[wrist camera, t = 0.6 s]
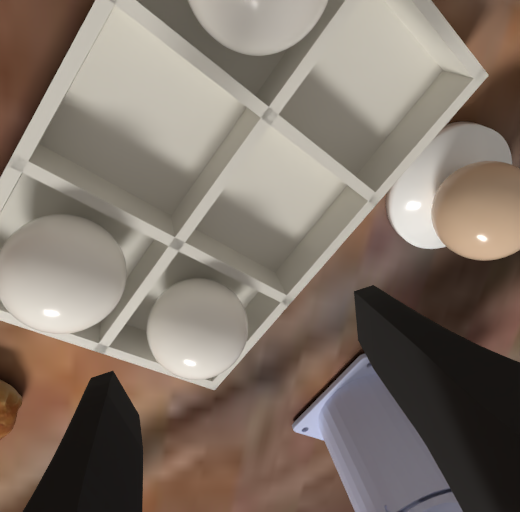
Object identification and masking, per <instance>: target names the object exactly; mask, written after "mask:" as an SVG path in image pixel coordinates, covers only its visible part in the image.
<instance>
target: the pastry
mask: <svg viewBox="0 0 520 512" xmlns="http://www.w3.org/2000/svg"><path fill="white" fill-rule="evenodd" d="M21 405H22V397H21V396H20V395H19V394H18V392H17V391H16V390H15V389H14V388H13V387H12V386H11V385H9V384H7V383H5V382H4V381H2V380H0V440H1V439H2V438H3V437H5V436H6V435H7V434H8V433H10V432H11V430H12V429H13V426H14V424H15V421H16V417H17V412H18V409H19V408H20V406H21Z"/></svg>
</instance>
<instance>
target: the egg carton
mask: <svg viewBox="0 0 520 512" xmlns="http://www.w3.org/2000/svg"><path fill="white" fill-rule="evenodd" d="M488 76H489V75H488V74H487V72H486V71H485V70H484V69H483V67H482V66H481V65H480V63H479V62H478V61H477V59H476V58H475V57H474V55H473V54H472V53H471V52H470V50H469V49H468V48H467V46H466V45H465V44H464V42H463V41H462V40H461V38H460V37H459V36H458V35H457V33H456V32H455V31H454V29H453V28H452V27H451V25H450V24H449V23H448V21H447V20H446V19H445V18H444V16H443V15H442V14H441V12H440V11H439V10H438V8H437V7H436V6H435V4H434V3H433V2H432V1H431V0H328V3H327V5H326V8H325V10H324V12H323V14H322V15H321V17H320V19H319V20H318V22H317V23H316V25H315V26H314V27H313V28H312V30H311V31H310V32H309V33H308V34H307V35H306V36H305V37H304V38H303V39H302V40H300V41H299V42H298V43H296V44H295V45H293V46H292V47H290V48H288V49H286V50H283V51H281V52H278V53H275V54H271V55H263V56H254V55H247V54H242V53H238V52H236V51H233V50H230V49H229V48H227V47H225V46H223V45H222V44H220V43H219V42H218V41H216V40H215V39H214V38H213V37H212V36H211V35H210V34H209V33H207V31H206V30H205V29H204V28H203V26H202V25H201V24H200V23H199V21H198V19H197V18H196V16H195V15H194V13H193V11H192V9H191V7H190V5H189V2H188V0H95V2H94V4H93V6H92V8H91V9H90V11H89V13H88V15H87V17H86V19H85V21H84V23H83V24H82V26H81V28H80V30H79V32H78V34H77V36H76V37H75V39H74V41H73V43H72V45H71V47H70V49H69V51H68V52H67V54H66V56H65V58H64V60H63V62H62V64H61V65H60V67H59V69H58V71H57V73H56V75H55V77H54V79H53V80H52V82H51V84H50V86H49V88H48V90H47V92H46V93H45V95H44V97H43V99H42V101H41V103H40V105H39V107H38V108H37V110H36V112H35V114H34V116H33V118H32V120H31V121H30V123H29V125H28V127H27V129H26V131H25V133H24V135H23V136H22V138H21V140H20V142H19V144H18V146H17V148H16V149H15V151H14V153H13V155H12V157H11V159H10V161H9V163H8V164H7V166H6V168H5V170H4V172H3V174H2V176H1V177H0V250H1V248H2V246H3V245H4V244H5V242H6V241H7V239H8V238H9V237H10V236H11V235H12V234H13V233H14V232H15V231H16V230H17V229H19V228H20V227H21V226H23V225H24V224H26V223H28V222H30V221H32V220H34V219H37V218H39V217H43V216H47V215H53V214H70V215H76V216H81V217H84V218H87V219H89V220H92V221H94V222H96V223H97V224H99V225H101V226H102V227H104V228H105V229H106V230H107V231H108V232H109V233H110V234H111V235H112V236H113V237H114V238H115V239H116V241H117V242H118V244H119V245H120V247H121V249H122V252H123V254H124V257H125V261H126V267H127V279H126V285H125V289H124V292H123V294H122V297H121V299H120V301H119V302H118V304H117V305H116V307H115V308H114V309H113V310H112V312H111V313H110V314H109V315H108V316H106V317H105V318H104V319H103V320H102V321H100V322H99V323H97V324H95V325H93V326H91V327H89V328H87V329H85V330H82V331H78V332H74V333H67V334H53V333H46V332H41V331H38V330H35V329H32V328H30V327H28V326H26V325H24V324H22V323H21V322H19V321H18V320H17V319H16V318H15V317H13V316H12V315H11V314H10V313H9V312H8V310H7V309H6V308H5V306H4V305H3V303H2V301H1V300H0V320H1V321H4V322H7V323H10V324H13V325H16V326H19V327H22V328H26V329H29V330H32V331H35V332H38V333H41V334H44V335H47V336H50V337H53V338H56V339H59V340H62V341H65V342H68V343H72V344H75V345H78V346H81V347H84V348H87V349H90V350H93V351H96V352H99V353H102V354H105V355H108V356H111V357H114V358H118V359H121V360H124V361H127V362H130V363H133V364H136V365H139V366H142V367H145V368H148V369H151V370H154V371H157V372H161V373H164V374H167V375H170V376H173V377H176V378H179V379H182V380H185V381H188V382H191V383H194V384H197V385H200V386H203V387H207V388H210V389H213V390H215V389H216V388H217V387H218V386H219V385H220V383H221V382H222V381H223V380H224V379H225V378H226V377H227V375H228V374H229V373H230V372H231V371H232V370H233V369H234V367H235V366H236V365H237V364H238V363H239V362H240V361H241V359H242V358H243V357H244V356H245V355H246V354H247V352H248V351H249V350H250V349H251V348H252V347H253V346H254V344H255V343H256V342H257V341H258V340H259V339H260V338H261V336H262V335H263V334H264V333H265V332H266V331H267V330H268V328H269V327H270V326H271V325H272V324H273V323H274V321H275V320H276V319H277V318H278V317H279V316H280V315H281V313H282V312H283V311H284V310H285V309H286V308H287V307H288V305H289V304H290V303H291V302H292V301H293V300H294V299H295V297H296V296H297V295H298V294H299V293H300V292H301V290H302V289H303V288H304V287H305V286H306V285H307V284H308V282H309V281H310V280H311V279H312V278H313V277H314V276H315V274H316V273H317V272H318V271H319V270H320V269H321V268H322V266H323V265H324V264H325V263H326V262H327V261H328V260H329V258H330V257H331V256H332V255H333V254H334V253H335V251H336V250H337V249H338V248H339V247H340V246H341V245H342V243H343V242H344V241H345V240H346V239H347V238H348V237H349V235H350V234H351V233H352V232H353V231H354V230H355V229H356V227H357V226H358V225H359V224H360V223H361V222H362V220H363V219H364V218H365V217H366V216H367V215H368V214H369V212H370V211H371V210H372V209H373V208H374V207H375V206H376V204H377V203H378V202H379V201H380V200H381V199H382V198H383V196H384V195H385V194H386V193H387V192H388V191H389V189H390V188H391V187H392V186H393V185H394V184H395V183H396V181H397V180H398V179H399V178H400V177H401V176H402V175H403V173H404V172H405V171H406V170H407V169H408V168H409V167H410V165H411V164H412V163H413V162H414V161H415V160H416V158H417V157H418V156H419V155H420V154H421V153H422V152H423V150H424V149H425V148H426V147H427V146H428V145H429V144H430V142H431V141H432V140H433V139H434V138H435V137H436V136H437V134H438V133H439V132H440V131H441V130H442V129H443V127H444V126H445V125H446V124H447V123H448V122H449V121H450V119H451V118H452V117H453V116H454V115H455V114H456V113H457V111H458V110H459V109H460V108H461V107H462V106H463V105H464V103H465V102H466V101H467V100H468V99H469V98H470V96H471V95H472V94H473V93H474V92H475V91H476V90H477V88H478V87H479V86H480V85H481V84H482V83H483V82H484V80H485V79H486V78H487V77H488ZM192 278H205V279H211V280H214V281H217V282H219V283H221V284H223V285H225V286H227V287H228V288H229V289H230V290H232V291H233V292H234V293H235V294H236V295H237V297H238V298H239V300H240V301H241V302H242V305H243V307H244V309H245V311H246V315H247V319H248V336H247V341H246V344H245V347H244V349H243V351H242V353H241V355H240V356H239V358H238V359H237V361H236V362H235V363H234V364H233V365H232V366H231V367H230V368H228V369H227V370H226V371H224V372H223V373H221V374H219V375H217V376H215V377H211V378H208V379H202V380H190V379H185V378H181V377H178V376H176V375H174V374H172V373H170V372H169V371H167V370H166V369H164V368H163V367H162V366H161V365H160V364H159V363H158V361H157V360H156V359H155V357H154V355H153V354H152V352H151V349H150V347H149V343H148V339H147V321H148V317H149V314H150V311H151V309H152V307H153V305H154V303H155V301H156V300H157V299H158V297H159V296H160V295H161V294H162V293H163V292H164V291H165V290H166V289H168V288H169V287H170V286H172V285H174V284H176V283H178V282H180V281H183V280H187V279H192Z"/></svg>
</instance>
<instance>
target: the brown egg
mask: <svg viewBox="0 0 520 512" xmlns="http://www.w3.org/2000/svg"><path fill="white" fill-rule="evenodd" d="M431 219H432V224H433V228H434V230H435V232H436V234H437V236H438V237H439V239H440V240H441V242H442V243H443V244H444V245H445V246H446V247H447V248H449V249H450V250H452V251H453V252H455V253H456V254H458V255H460V256H463V257H466V258H469V259H474V260H495V259H500V258H504V257H507V256H509V255H511V254H514V253H515V252H517V251H519V250H520V168H518V167H516V166H514V165H511V164H508V163H505V162H499V161H481V162H475V163H472V164H469V165H466V166H464V167H461V168H460V169H458V170H456V171H455V172H453V173H452V174H451V175H449V176H448V177H447V178H446V179H445V180H444V181H443V182H442V184H441V185H440V186H439V188H438V190H437V191H436V194H435V196H434V199H433V202H432V207H431Z"/></svg>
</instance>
